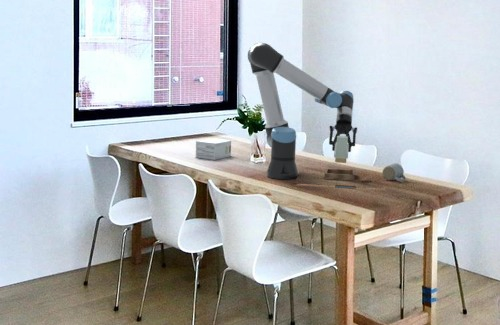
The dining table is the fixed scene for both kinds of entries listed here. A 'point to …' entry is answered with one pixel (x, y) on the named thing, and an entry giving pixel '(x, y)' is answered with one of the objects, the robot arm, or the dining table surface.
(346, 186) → the coaster
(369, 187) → the dining table surface
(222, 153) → the supplement box
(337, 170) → the crate
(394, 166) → the ceramic mug
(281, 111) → the robot arm
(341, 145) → the block
